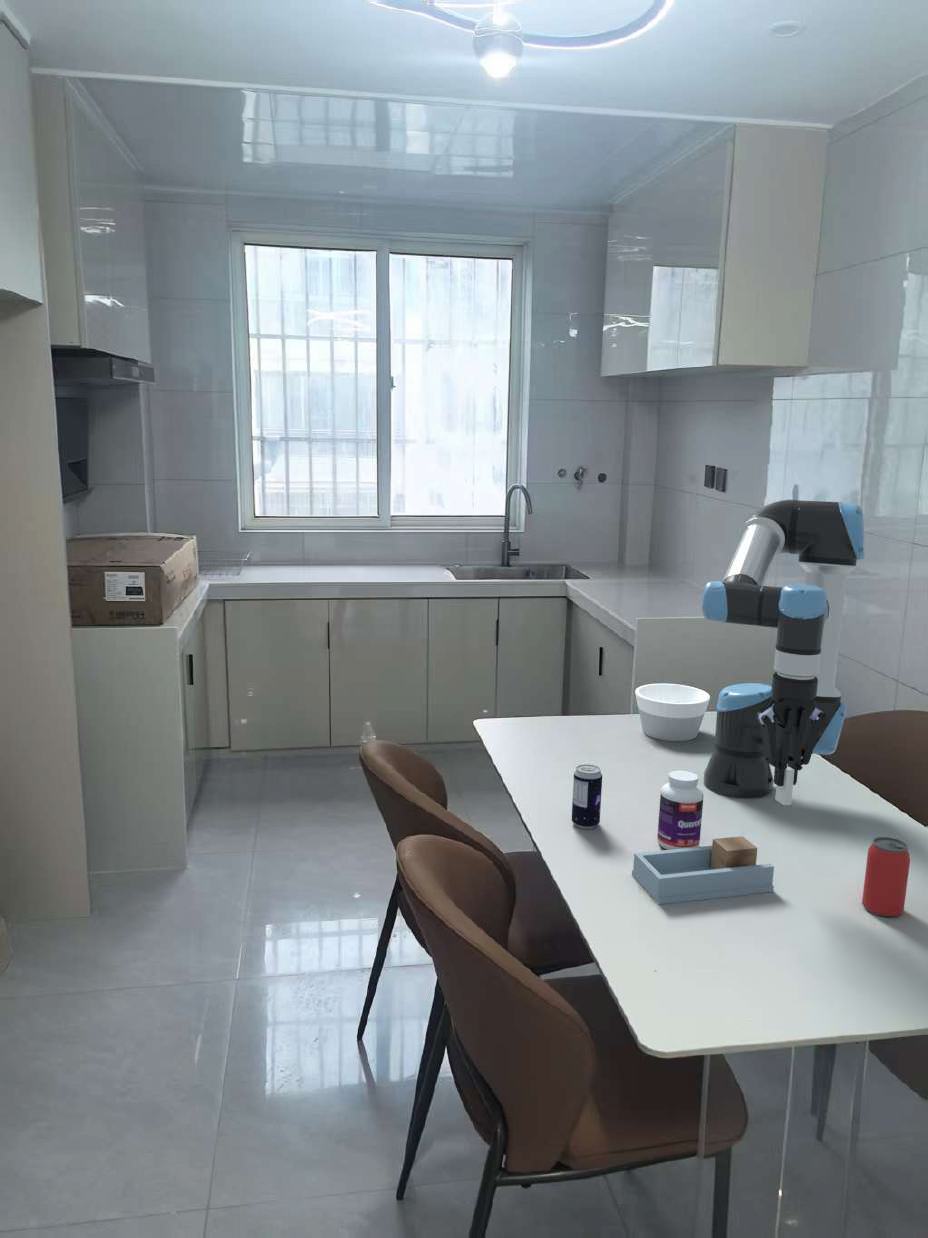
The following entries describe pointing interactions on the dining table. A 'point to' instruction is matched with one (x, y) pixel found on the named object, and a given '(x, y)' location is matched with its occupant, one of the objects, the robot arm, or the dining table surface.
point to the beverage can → (586, 796)
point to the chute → (696, 876)
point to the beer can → (886, 877)
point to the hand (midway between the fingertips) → (783, 801)
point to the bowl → (671, 710)
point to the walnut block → (732, 853)
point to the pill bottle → (680, 811)
